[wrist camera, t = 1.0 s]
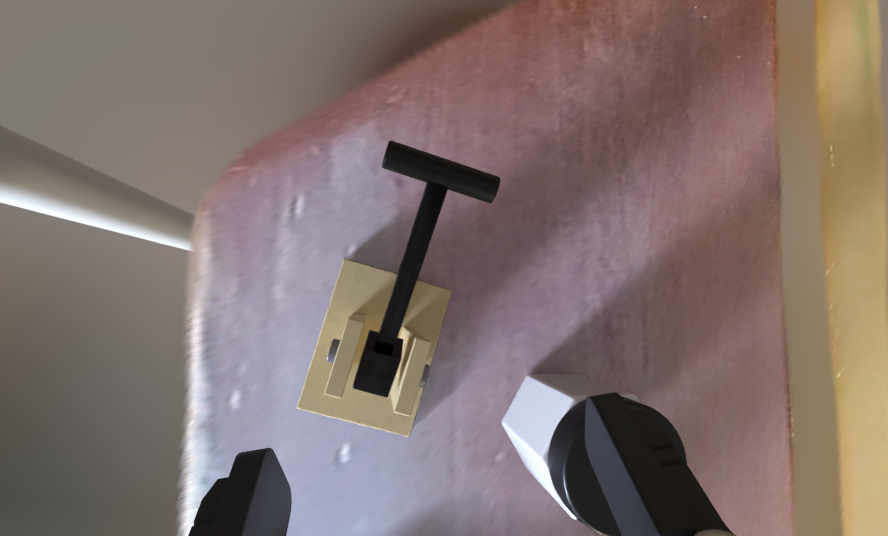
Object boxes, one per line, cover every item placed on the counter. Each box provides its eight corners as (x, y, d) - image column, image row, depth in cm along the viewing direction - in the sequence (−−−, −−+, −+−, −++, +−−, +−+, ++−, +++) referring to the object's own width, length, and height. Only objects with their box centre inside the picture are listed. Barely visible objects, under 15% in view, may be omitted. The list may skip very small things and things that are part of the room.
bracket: (344, 259, 39) (333, 242, 27) (449, 290, 40) (482, 288, 28) (298, 405, 37) (266, 454, 26) (408, 433, 38) (425, 492, 27)
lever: (391, 137, 25) (387, 142, 23) (497, 173, 26) (503, 181, 24) (328, 358, 30) (319, 380, 28) (419, 383, 31) (418, 406, 28)
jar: (500, 472, 39) (556, 547, 28) (500, 372, 40) (556, 404, 28) (602, 467, 41) (697, 536, 29) (601, 371, 41) (693, 400, 29)
